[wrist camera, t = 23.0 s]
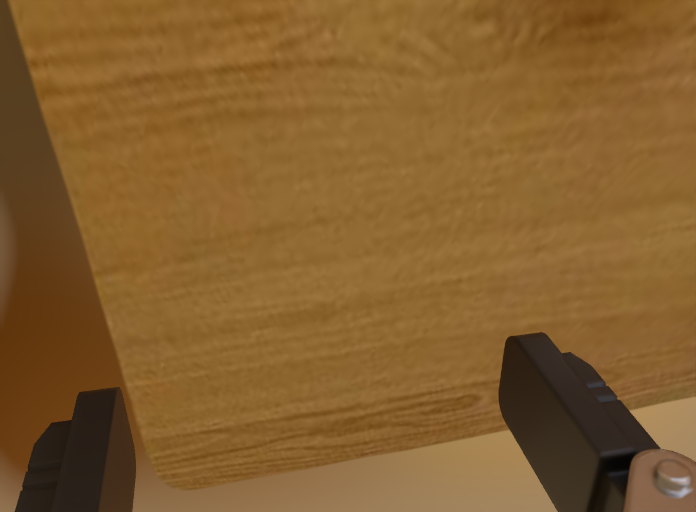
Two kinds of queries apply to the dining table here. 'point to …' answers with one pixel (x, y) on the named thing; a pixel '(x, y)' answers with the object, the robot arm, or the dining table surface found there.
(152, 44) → the dining table surface
